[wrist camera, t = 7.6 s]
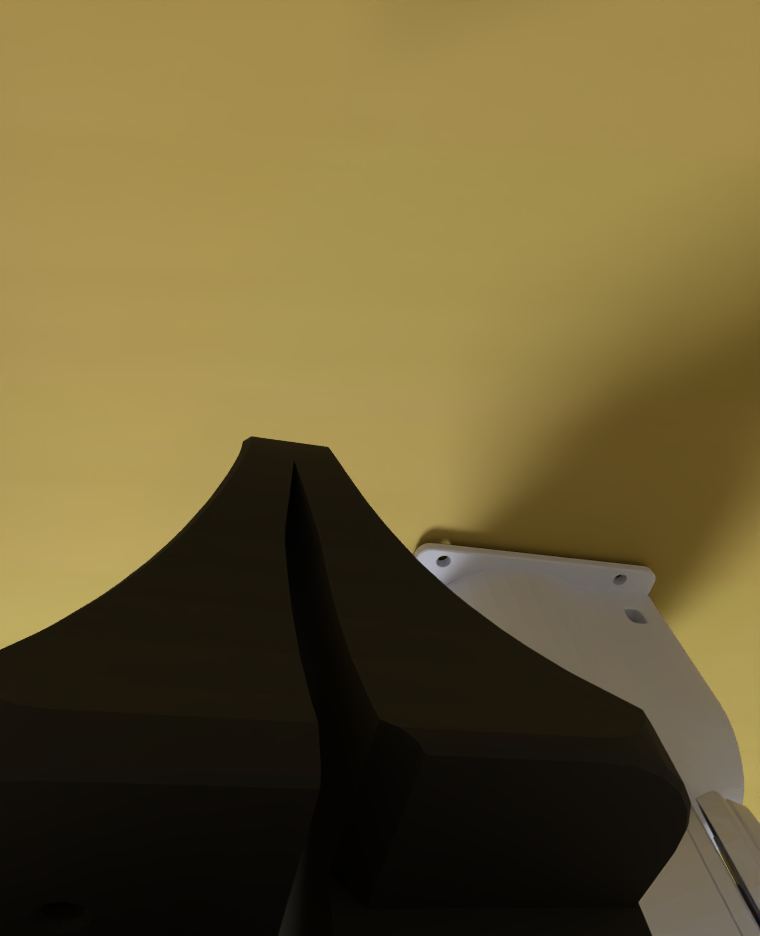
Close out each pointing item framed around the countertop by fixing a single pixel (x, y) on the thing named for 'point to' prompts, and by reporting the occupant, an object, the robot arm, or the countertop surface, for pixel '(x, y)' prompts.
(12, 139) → the countertop surface
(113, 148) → the countertop surface
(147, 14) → the countertop surface
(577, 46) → the countertop surface
